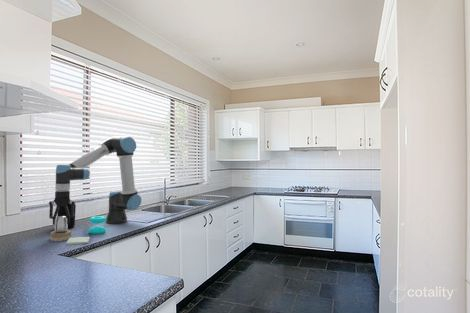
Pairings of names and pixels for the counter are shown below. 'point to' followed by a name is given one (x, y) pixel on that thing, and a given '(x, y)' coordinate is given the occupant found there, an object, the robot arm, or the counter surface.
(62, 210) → the coffee jar
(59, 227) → the plug
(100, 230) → the donuts
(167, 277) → the counter surface
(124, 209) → the robot arm
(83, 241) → the board
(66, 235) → the collar
